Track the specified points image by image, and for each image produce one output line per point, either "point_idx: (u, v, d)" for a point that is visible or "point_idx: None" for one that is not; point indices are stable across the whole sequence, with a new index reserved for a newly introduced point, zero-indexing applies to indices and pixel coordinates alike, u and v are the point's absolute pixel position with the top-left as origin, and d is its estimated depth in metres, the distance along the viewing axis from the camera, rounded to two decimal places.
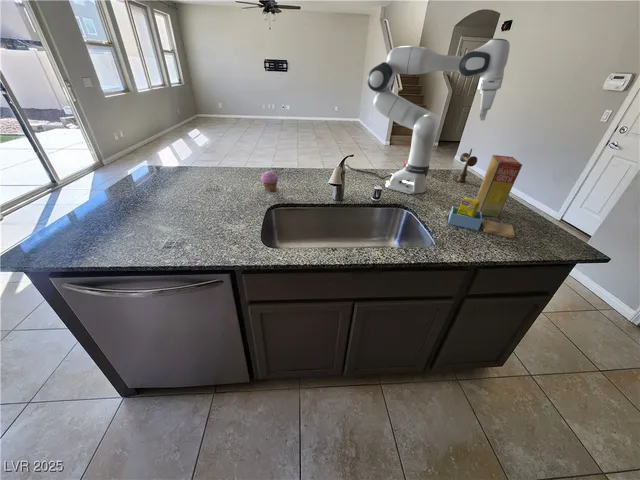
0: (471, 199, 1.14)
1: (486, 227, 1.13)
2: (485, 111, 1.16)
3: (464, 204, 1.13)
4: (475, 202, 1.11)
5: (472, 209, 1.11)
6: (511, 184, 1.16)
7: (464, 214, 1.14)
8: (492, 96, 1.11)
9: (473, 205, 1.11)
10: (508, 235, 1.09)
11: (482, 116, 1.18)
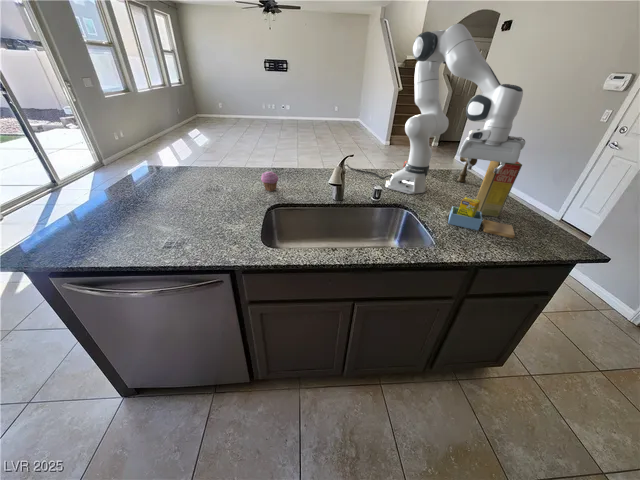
0: (471, 199, 1.14)
1: (486, 227, 1.13)
2: (467, 159, 1.07)
3: (464, 204, 1.13)
4: (475, 202, 1.11)
5: (472, 209, 1.11)
6: (511, 184, 1.16)
7: (464, 214, 1.14)
8: (463, 143, 1.04)
9: (473, 205, 1.11)
10: (508, 235, 1.09)
11: (468, 164, 1.08)
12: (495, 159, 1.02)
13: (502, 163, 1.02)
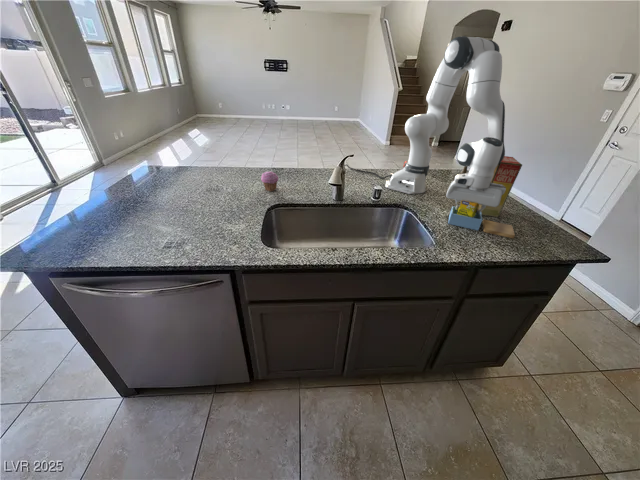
0: None
1: (486, 227, 1.13)
2: (455, 200, 1.16)
3: (464, 204, 1.13)
4: None
5: (472, 209, 1.11)
6: (511, 184, 1.16)
7: (464, 214, 1.14)
8: (449, 187, 1.13)
9: (473, 205, 1.11)
10: (508, 235, 1.09)
11: (456, 205, 1.17)
12: (478, 202, 1.11)
13: (483, 205, 1.11)
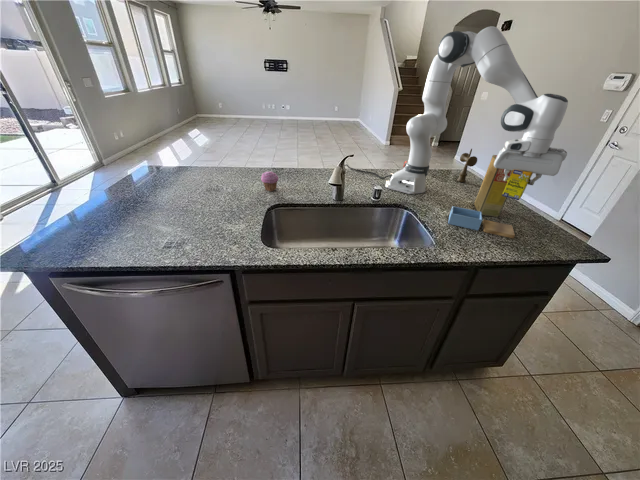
0: None
1: (486, 227, 1.13)
2: (504, 171, 1.03)
3: (516, 174, 1.00)
4: (529, 171, 0.98)
5: (526, 179, 0.98)
6: None
7: (515, 185, 1.01)
8: (499, 154, 1.00)
9: (527, 175, 0.98)
10: (508, 235, 1.09)
11: (505, 176, 1.04)
12: (533, 171, 0.98)
13: (538, 175, 0.98)
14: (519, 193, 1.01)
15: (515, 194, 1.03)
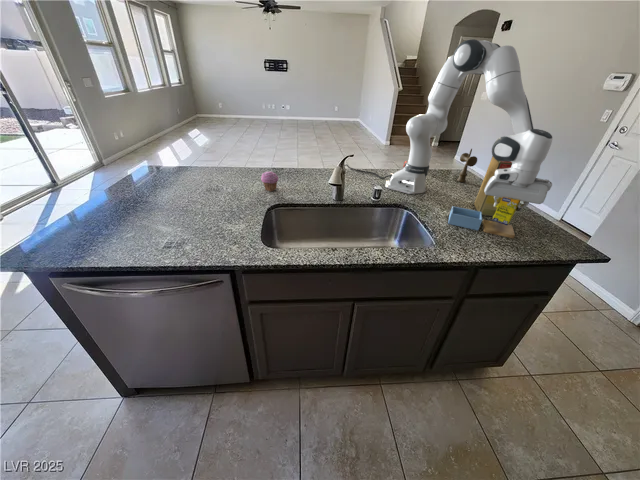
0: None
1: (486, 227, 1.13)
2: (494, 197, 1.09)
3: (505, 201, 1.06)
4: (517, 199, 1.04)
5: (514, 206, 1.04)
6: None
7: (504, 212, 1.07)
8: (489, 182, 1.06)
9: (515, 202, 1.04)
10: (508, 235, 1.09)
11: None
12: (521, 199, 1.04)
13: (526, 202, 1.04)
14: (508, 219, 1.07)
15: (504, 219, 1.09)
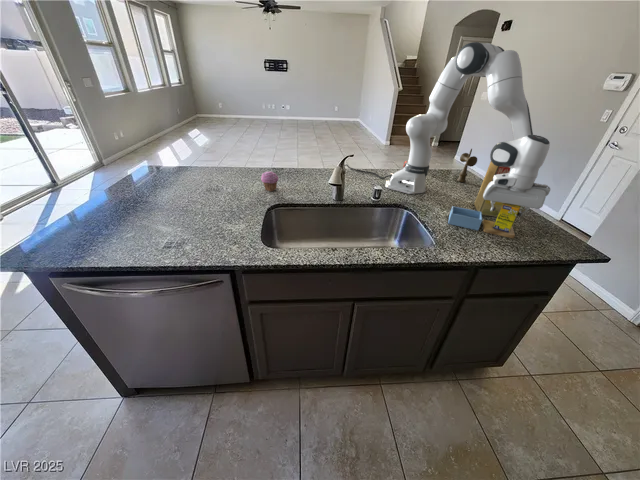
0: None
1: (486, 227, 1.13)
2: (491, 202, 1.10)
3: (505, 209, 1.06)
4: (517, 206, 1.05)
5: (515, 214, 1.05)
6: None
7: (505, 219, 1.08)
8: (488, 188, 1.07)
9: (516, 210, 1.04)
10: (508, 235, 1.09)
11: None
12: (519, 204, 1.04)
13: (526, 208, 1.05)
14: (509, 226, 1.08)
15: (505, 227, 1.09)
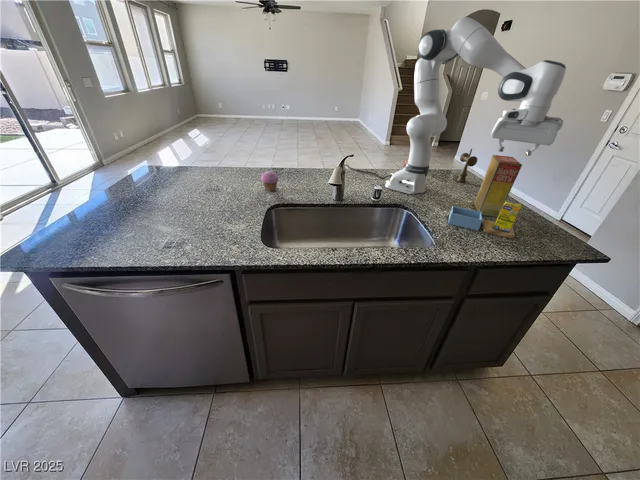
0: (512, 203, 1.07)
1: (486, 227, 1.13)
2: (499, 140, 1.04)
3: (506, 209, 1.06)
4: (518, 207, 1.05)
5: (515, 214, 1.05)
6: (511, 184, 1.16)
7: (505, 220, 1.08)
8: (496, 124, 1.01)
9: (516, 210, 1.04)
10: (508, 235, 1.09)
11: None
12: (529, 140, 0.99)
13: (536, 145, 0.99)
14: (509, 227, 1.08)
15: (505, 227, 1.09)
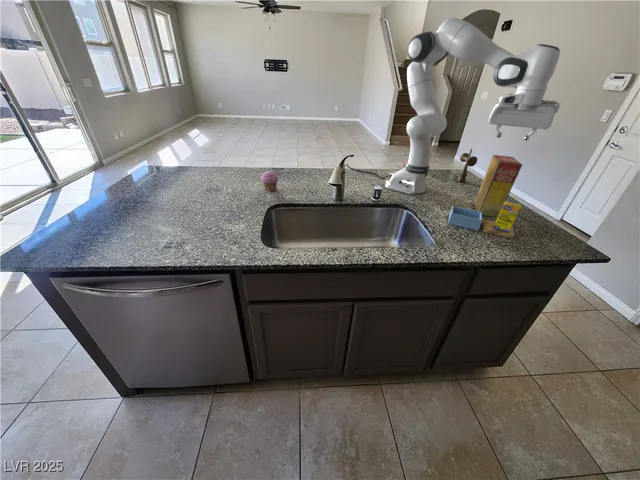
0: (512, 203, 1.07)
1: (486, 227, 1.13)
2: (496, 126, 1.05)
3: (506, 209, 1.06)
4: (518, 207, 1.05)
5: (515, 214, 1.05)
6: (511, 184, 1.16)
7: (505, 220, 1.08)
8: (493, 109, 1.02)
9: (517, 210, 1.04)
10: (508, 235, 1.09)
11: (497, 132, 1.06)
12: (527, 125, 0.99)
13: (534, 129, 1.00)
14: (509, 227, 1.08)
15: (505, 227, 1.09)
